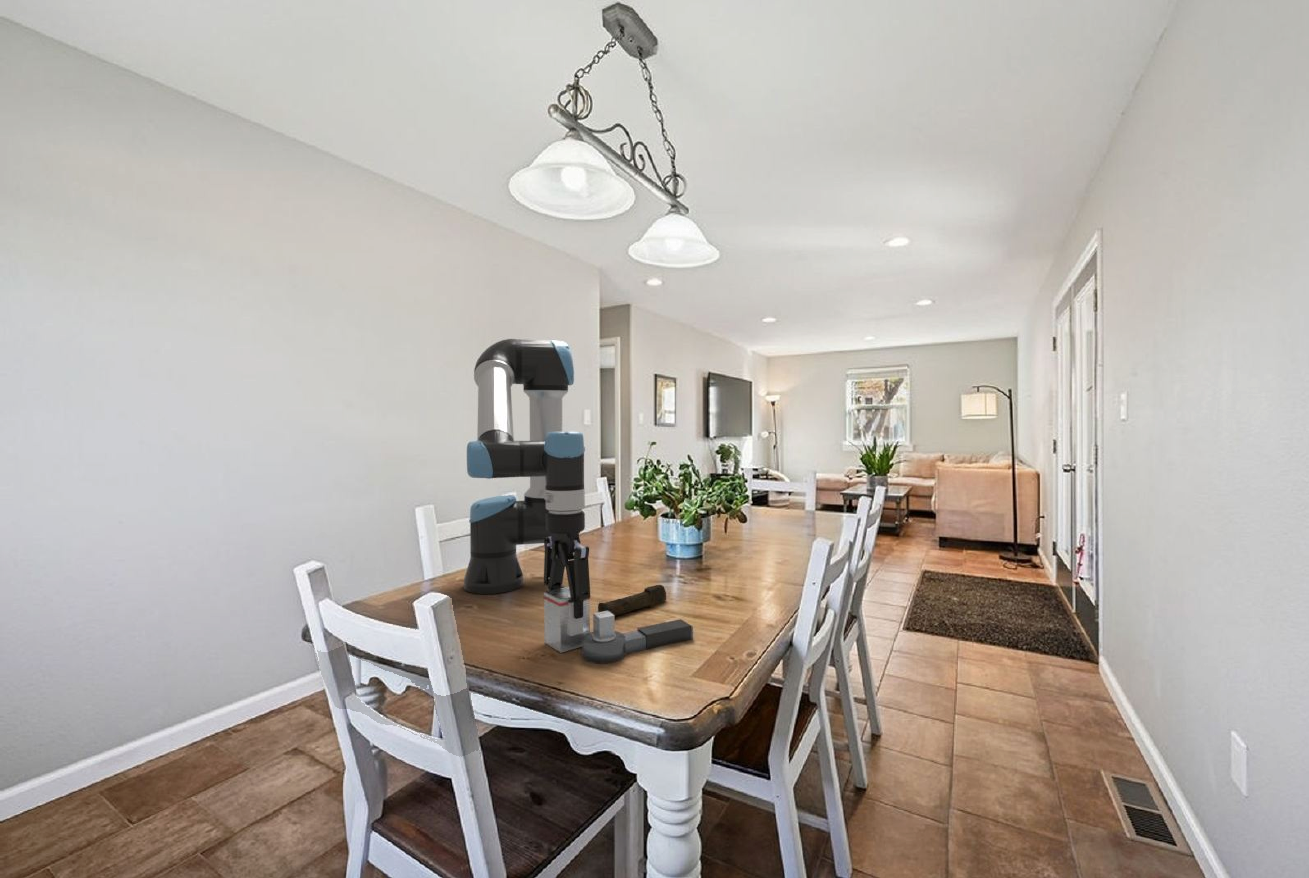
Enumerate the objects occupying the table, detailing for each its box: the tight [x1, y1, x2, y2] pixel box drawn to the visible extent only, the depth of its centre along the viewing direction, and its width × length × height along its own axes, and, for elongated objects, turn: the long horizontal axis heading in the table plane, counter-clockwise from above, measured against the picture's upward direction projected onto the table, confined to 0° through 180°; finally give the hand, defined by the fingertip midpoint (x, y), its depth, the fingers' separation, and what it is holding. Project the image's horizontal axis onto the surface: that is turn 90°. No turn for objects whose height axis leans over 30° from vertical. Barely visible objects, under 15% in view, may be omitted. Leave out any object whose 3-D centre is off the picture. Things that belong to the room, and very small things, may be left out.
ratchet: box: [581, 611, 694, 664], centre depth 107 cm, size 22×8×8 cm, turn 119°
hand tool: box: [597, 584, 667, 617], centre depth 127 cm, size 19×4×5 cm, turn 129°
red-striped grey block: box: [543, 586, 591, 654], centre depth 108 cm, size 6×6×10 cm
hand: (566, 628), depth 108 cm, fingers open, 7 cm apart
